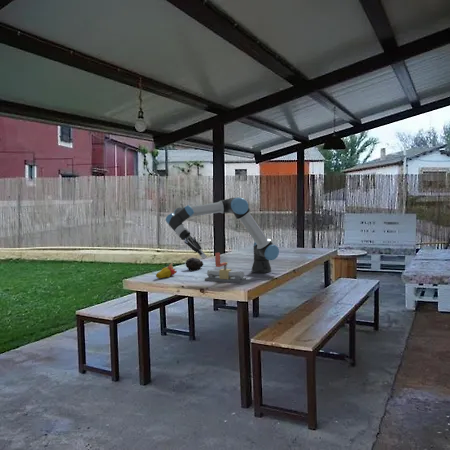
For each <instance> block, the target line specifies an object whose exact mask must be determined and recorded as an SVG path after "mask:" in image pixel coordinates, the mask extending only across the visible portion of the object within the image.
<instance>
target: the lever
mask: <svg viewBox="0 0 450 450" xmlns="http://www.w3.org/2000/svg"><path fill="white" fill-rule="evenodd" d="M214 255H215V258H214V259H215V267H216V268H220V267H224V265H228V263H229V262H227V261H223V262H221V252H215V253H214Z"/></svg>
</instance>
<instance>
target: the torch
mask: <svg viewBox="0 0 450 450" xmlns="http://www.w3.org/2000/svg"><path fill="white" fill-rule="evenodd" d="M174 267H175V266H173V262H171V263H170V264H168V266H166V267H163V268H162V269H161V270H160V271H158V272H157V273H156V274H155V277H156V278H157V279H164V278H170V277H171V276H174V275H175V274H176V273H178V272H177V268H174Z"/></svg>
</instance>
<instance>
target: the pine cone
mask: <svg viewBox="0 0 450 450" xmlns="http://www.w3.org/2000/svg"><path fill="white" fill-rule="evenodd" d="M185 267H186V268H187V270H188V271H191V272H193V271H194V272H195V271H199V270H202V269H203V268H202V267H204V262H203V260H201V259H199V258H197V257H190V258H188V259H187V260H186V261H185Z"/></svg>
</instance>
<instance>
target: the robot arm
mask: <svg viewBox="0 0 450 450" xmlns="http://www.w3.org/2000/svg"><path fill="white" fill-rule="evenodd" d="M250 211H251V209H250V208H249V203H248V201H247V199H245V198H243V197H230V198H225V199H222V200H219V201H217V202H212V203H211V202H210V203H204V204H198V205H190V204H187V205H185V206H183V207H177V208H175V210H174V211H173V213H169V214H168V215H167V216H166V217H165V221H166V224H167V225H168V226H169V227H170V228H171V229H172V230H173V232H174V233H175V234H176V236H178V237H179V239H180V240H182V241H183V242H184V244H185V245H186V246H188V247H189V248H190V249H191V250H192V251H193V252H195V253H197V254H198V255H199V256H200V258H201V259H203V260H205V259H206V258H207V257H208V256H207V255H206V253H204V251H203V250H202V246H201V245H200V244H199V242H198V241H197V239H196V237H192V235H191V231H190V230H189V229H188V228H187V227H186V226H185V225H184V224H183V223H184V222H185V221H187V219H189V218H191V217H192V218H193V217H198V216H204V215H205V216H206V215H213V214H218V213H221V214H233V215H234V217H235V219H237V220H239V221H240V222H241V223H242V225H243V226H244V228H245V229H246V231H247V232H248V234H249V236H250V237H251V238H252V240H253V241H254V242H253V246H252V247H253V262H252V266H251V272H252V273H263V274H264V273H265V274H266V273H271V272H272V266H271V263H270V261H274V260H276V259H277V258H278V257H279V254H280V250H279V247H278V246H277V245H276V244H274V243H273V242H272V241H271V239H270V238H267V236H266V235H265V234H264V232H263V230H262V229H261V228H260V226H259V225H258V223H257V221H256V220H255V218H254V217H253V216H252V214H251V213H250Z"/></svg>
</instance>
